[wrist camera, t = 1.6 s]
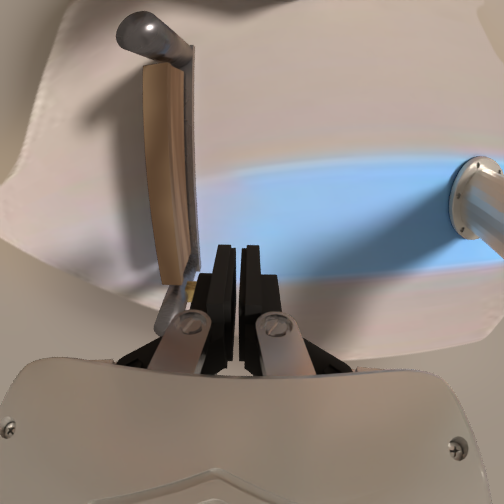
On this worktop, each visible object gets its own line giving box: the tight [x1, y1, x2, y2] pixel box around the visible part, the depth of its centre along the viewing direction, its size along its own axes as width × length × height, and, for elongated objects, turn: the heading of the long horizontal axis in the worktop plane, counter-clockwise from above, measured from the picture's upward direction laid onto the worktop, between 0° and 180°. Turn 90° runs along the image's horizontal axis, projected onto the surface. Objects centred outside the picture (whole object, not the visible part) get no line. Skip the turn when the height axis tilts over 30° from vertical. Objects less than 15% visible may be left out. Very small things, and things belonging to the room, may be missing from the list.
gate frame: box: [116, 11, 201, 337], centre depth 23 cm, size 4×27×12 cm, turn 179°
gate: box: [143, 62, 191, 285], centre depth 24 cm, size 2×20×6 cm, turn 179°
